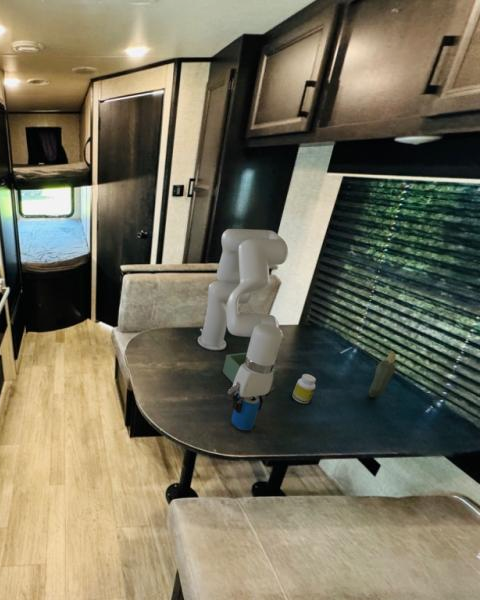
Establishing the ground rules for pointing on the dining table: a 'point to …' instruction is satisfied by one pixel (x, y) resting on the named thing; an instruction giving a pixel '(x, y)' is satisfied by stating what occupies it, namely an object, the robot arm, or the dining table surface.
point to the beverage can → (246, 413)
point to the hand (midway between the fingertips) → (246, 408)
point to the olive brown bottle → (382, 375)
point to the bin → (237, 365)
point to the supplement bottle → (304, 389)
